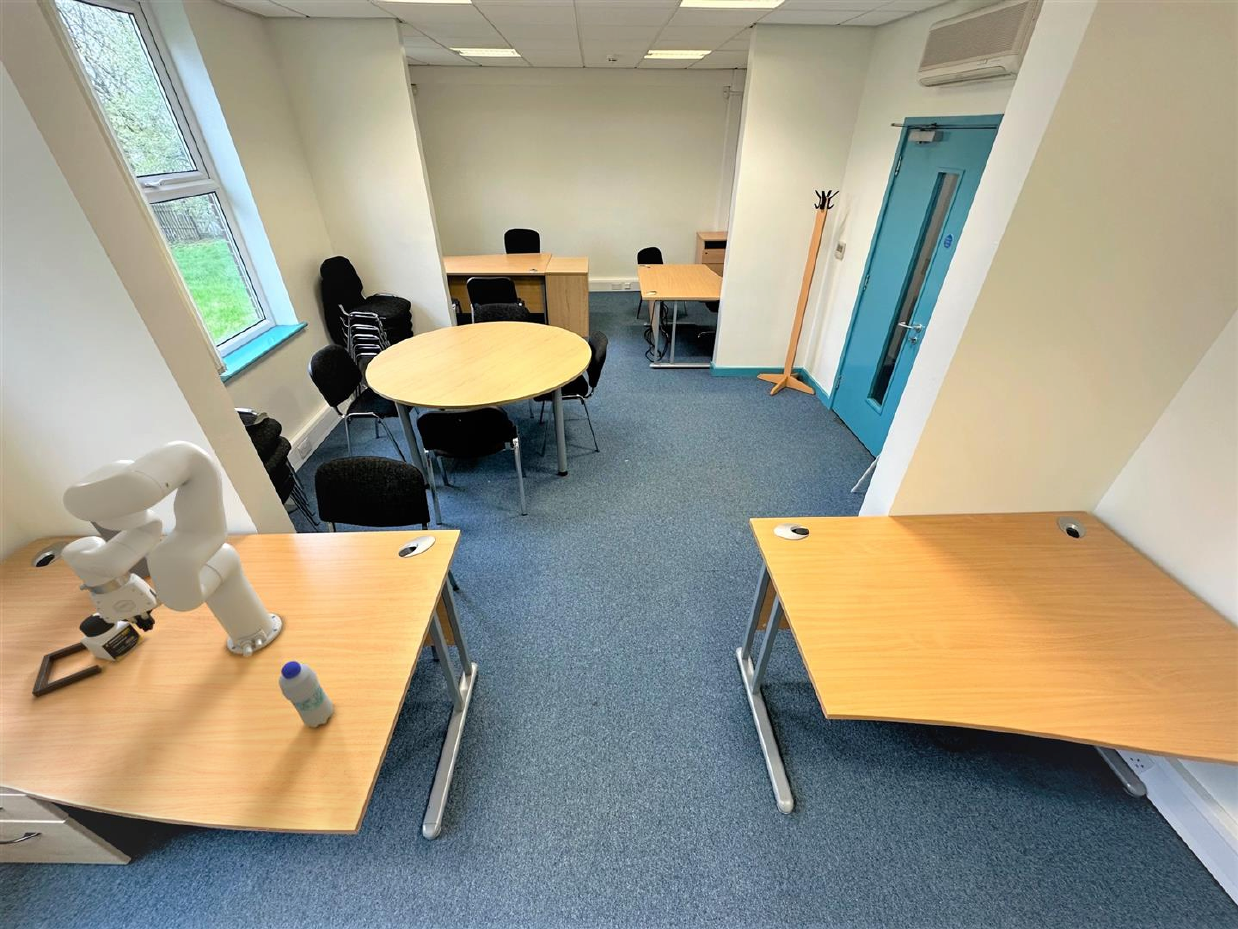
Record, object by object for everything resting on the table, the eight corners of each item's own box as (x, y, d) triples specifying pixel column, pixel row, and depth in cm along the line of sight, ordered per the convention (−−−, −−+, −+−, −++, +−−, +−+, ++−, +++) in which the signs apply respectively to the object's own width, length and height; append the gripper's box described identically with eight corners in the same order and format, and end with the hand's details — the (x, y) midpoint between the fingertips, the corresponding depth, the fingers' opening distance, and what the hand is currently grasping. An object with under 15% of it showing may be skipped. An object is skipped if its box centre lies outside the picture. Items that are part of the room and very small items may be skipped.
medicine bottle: (117, 662, 126) (88, 633, 119) (95, 657, 127) (66, 628, 120) (144, 639, 132) (119, 610, 125) (124, 635, 133) (97, 605, 126)
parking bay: (101, 672, 123) (96, 667, 122) (37, 698, 118) (31, 693, 117) (108, 637, 132) (104, 633, 131) (48, 660, 126) (43, 655, 125)
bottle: (328, 697, 118) (298, 647, 107) (341, 714, 114) (311, 664, 103) (299, 718, 113) (264, 668, 102) (312, 737, 110) (277, 687, 99)
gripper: (66, 603, 115) (111, 651, 125) (146, 576, 122) (183, 623, 132) (72, 584, 120) (115, 631, 130) (149, 559, 127) (184, 605, 137)
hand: (149, 627), depth 131 cm, fingers closed
